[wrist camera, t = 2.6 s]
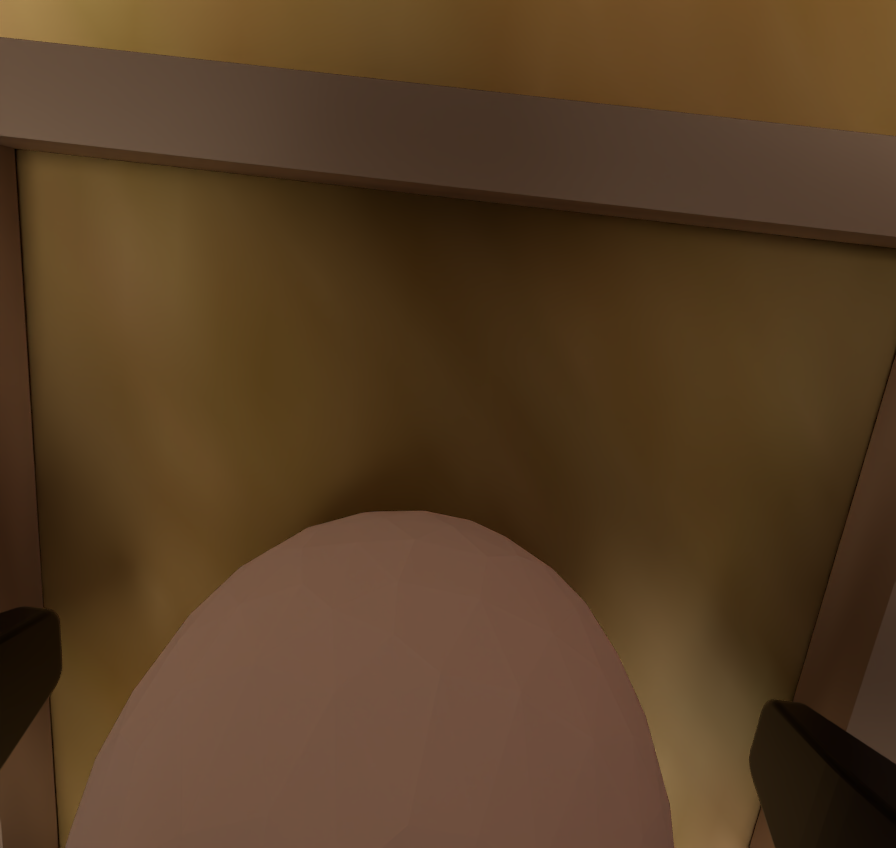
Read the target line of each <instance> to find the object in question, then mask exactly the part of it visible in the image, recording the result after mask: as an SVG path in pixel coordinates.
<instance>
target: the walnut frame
mask: <svg viewBox="0 0 896 848" xmlns="http://www.w3.org/2000/svg"><path fill="white" fill-rule="evenodd" d="M14 148H15V149H24V150H33V151H42V152H50V153H59V154H68V155H77V156H86V157H95V158H103V159H112V160H121V161H130V162H139V163H148V164H156V165H165V166H174V167H183V168H192V169H201V170H209V171H218V172H227V173H236V174H245V175H254V176H262V177H271V178H280V179H289V180H298V181H307V182H315V183H324V184H333V185H342V186H351V187H360V188H368V189H377V190H386V191H395V192H404V193H413V194H421V195H430V196H439V197H448V198H457V199H466V200H474V201H483V202H492V203H501V204H510V205H519V206H527V207H536V208H545V209H554V210H563V211H572V212H580V213H589V214H598V215H607V216H616V217H625V218H633V219H642V220H651V221H660V222H669V223H678V224H686V225H695V226H704V227H713V228H722V229H731V230H739V231H748V232H757V233H766V234H775V235H784V236H792V237H801V238H810V239H819V240H828V241H837V242H845V243H854V244H863V245H872V246H881V247H890V248H896V136H890V135H880V134H871V133H862V132H853V131H844V130H835V129H826V128H817V127H808V126H799V125H790V124H781V123H772V122H763V121H754V120H745V119H736V118H727V117H718V116H709V115H700V114H691V113H682V112H673V111H664V110H655V109H645V108H636V107H627V106H618V105H609V104H600V103H591V102H582V101H573V100H564V99H555V98H546V97H537V96H528V95H519V94H510V93H501V92H492V91H483V90H474V89H465V88H456V87H447V86H438V85H429V84H420V83H411V82H401V81H392V80H383V79H374V78H365V77H356V76H347V75H338V74H329V73H320V72H311V71H302V70H293V69H284V68H275V67H266V66H257V65H248V64H239V63H230V62H221V61H212V60H203V59H194V58H185V57H176V56H166V55H157V54H148V53H139V52H130V51H121V50H112V49H103V48H94V47H85V46H76V45H67V44H58V43H49V42H40V41H31V40H22V39H13V38H4V37H0V613H1V612H4V611H7V610H11V609H14V608H17V607H21V606H28V607H36V608H43V596H42V580H41V564H40V548H39V533H38V517H37V501H36V485H35V469H34V453H33V437H32V421H31V406H30V390H29V374H28V358H27V342H26V326H25V310H24V294H23V278H22V263H21V247H20V231H19V215H18V199H17V183H16V167H15V151H14ZM793 702H800V703H803V704H805V705H807V706H809V707H810V708H812V709H813V710H815V711H816V712H818V713H819V714H821V715H822V716H824V717H825V718H827V719H828V720H830V721H831V722H833V723H834V724H836V725H837V726H839V727H840V728H842V729H843V730H845V731H846V732H848V733H850V734H851V735H853V736H854V737H856V738H857V739H859V740H860V741H862V742H863V743H865V744H866V745H868V746H869V747H871V748H872V749H874V750H875V751H877V752H878V753H880V754H881V755H883V756H884V757H886V758H887V759H889V760H890V761H892V762H894V763H895V764H896V356H895V359H894V363H893V366H892V369H891V373H890V376H889V380H888V383H887V386H886V390H885V393H884V396H883V400H882V403H881V406H880V410H879V413H878V417H877V420H876V423H875V427H874V430H873V433H872V437H871V440H870V443H869V447H868V450H867V454H866V457H865V460H864V464H863V467H862V470H861V474H860V477H859V480H858V484H857V487H856V491H855V494H854V497H853V501H852V504H851V507H850V511H849V514H848V517H847V521H846V524H845V528H844V531H843V534H842V538H841V541H840V544H839V548H838V551H837V555H836V558H835V561H834V565H833V568H832V571H831V575H830V578H829V581H828V585H827V588H826V592H825V595H824V598H823V602H822V605H821V608H820V612H819V615H818V618H817V622H816V625H815V629H814V632H813V635H812V639H811V642H810V645H809V649H808V652H807V655H806V659H805V662H804V666H803V669H802V672H801V676H800V679H799V682H798V686H797V689H796V692H795V696H794V699H793ZM0 848H58V834H57V818H56V803H55V787H54V771H53V755H52V739H51V723H50V707H49V698H48V699H47V701H46V702H45V704H44V705H43V707H42V708H41V710H40V711H39V713H38V714H37V716H36V717H35V719H34V720H33V722H32V723H31V725H30V726H29V728H28V729H27V731H26V732H25V734H24V735H23V737H22V738H21V740H20V741H19V743H18V744H17V746H16V747H15V749H14V750H13V752H12V753H11V755H10V757H9V758H8V760H7V761H6V763H5V764H4V766H3V767H2V769H1V770H0ZM749 848H774V844H773V841H772V838H771V835H770V832H769V829H768V826H767V823H766V819H765V816H764V813H763V810H762V807H761V810H760V814H759V817H758V820H757V824H756V827H755V830H754V834H753V837H752V841H751V844H750V847H749Z"/></svg>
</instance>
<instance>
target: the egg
mask: <svg viewBox="0 0 896 848" xmlns="http://www.w3.org/2000/svg"><path fill="white" fill-rule="evenodd" d="M65 848H674V842H673V832H672V822H671V812H670V804H669V800H668V796H667V793H666V789H665V785H664V782H663V778H662V774H661V771H660V767H659V763H658V760H657V756H656V752H655V749H654V745H653V741H652V738H651V734H650V730H649V727H648V723H647V719H646V716H645V713H644V711H643V709H642V707H641V705H640V702H639V700H638V698H637V696H636V694H635V691H634V689H633V687H632V685H631V682H630V680H629V678H628V676H627V674H626V671H625V669H624V667H623V665H622V662H621V660H620V658H619V656H618V654H617V652H616V651H615V649H614V647H613V646H612V644H611V643H610V641H609V639H608V638H607V636H606V635H605V633H604V631H603V630H602V628H601V627H600V625H599V623H598V622H597V620H596V619H595V617H594V615H593V614H592V612H591V610H590V609H589V607H588V606H587V604H586V603H585V602H584V600H583V599H582V598H581V597H580V596H579V595H578V594H577V593H576V592H575V591H574V590H573V589H572V588H571V587H570V586H569V585H568V584H567V583H566V582H565V581H564V580H563V579H562V578H561V577H560V576H559V575H558V574H557V573H556V572H555V571H554V570H553V569H552V568H551V567H549V566H548V565H546V564H545V563H543V562H542V561H540V560H539V559H538V558H536V557H535V556H533V555H532V554H530V553H529V552H527V551H526V550H524V549H523V548H521V547H520V546H519V545H517V544H516V543H514V542H513V541H511V540H510V539H508V538H507V537H505V536H503V535H501V534H499V533H497V532H495V531H493V530H490V529H488V528H486V527H484V526H482V525H480V524H478V523H476V522H474V521H471V520H467V519H462V518H457V517H452V516H447V515H443V514H438V513H433V512H428V511H375V512H364V513H359V514H356V515H352V516H348V517H345V518H341V519H337V520H334V521H330V522H326V523H323V524H319V525H315V526H312V527H308V528H306V529H304V530H303V531H301V532H299V533H298V534H296V535H294V536H292V537H291V538H289V539H287V540H285V541H284V542H282V543H280V544H279V545H277V546H275V547H273V548H272V549H270V550H268V551H267V552H265V553H263V554H262V555H260V556H258V557H256V558H255V559H253V560H251V561H250V562H248V563H246V564H245V565H243V566H241V567H240V568H239V569H238V570H237V571H235V572H234V573H233V574H232V575H231V576H230V577H229V578H228V579H227V580H226V581H225V582H224V583H223V584H222V585H221V586H220V587H218V588H217V589H216V590H215V591H214V592H213V593H212V594H211V595H210V596H209V597H208V598H207V599H206V600H205V601H204V602H203V603H202V604H200V605H199V606H198V607H197V608H196V609H195V610H194V611H193V612H192V613H191V614H190V615H189V616H188V618H187V619H186V620H185V622H184V623H183V624H182V626H181V627H180V628H179V630H178V631H177V632H176V634H175V635H174V637H173V638H172V639H171V641H170V642H169V643H168V645H167V646H166V647H165V649H164V650H163V651H162V653H161V654H160V655H159V657H158V658H157V659H156V661H155V662H154V664H153V665H152V666H151V668H150V669H149V670H148V672H147V673H146V674H145V676H144V677H143V678H142V680H141V681H140V682H139V684H138V685H137V686H136V688H135V689H134V690H133V692H132V694H131V696H130V697H129V699H128V701H127V703H126V705H125V706H124V708H123V710H122V712H121V714H120V715H119V717H118V719H117V721H116V723H115V724H114V726H113V728H112V730H111V732H110V733H109V735H108V737H107V739H106V741H105V742H104V744H103V746H102V748H101V750H100V751H99V753H98V755H97V757H96V759H95V762H94V765H93V767H92V770H91V773H90V776H89V779H88V782H87V785H86V787H85V790H84V793H83V796H82V799H81V802H80V804H79V807H78V810H77V813H76V816H75V819H74V822H73V824H72V827H71V830H70V833H69V836H68V839H67V843H66V847H65Z"/></svg>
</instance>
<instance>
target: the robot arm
mask: <svg viewBox="0 0 896 848" xmlns="http://www.w3.org/2000/svg"><path fill="white" fill-rule="evenodd" d="M61 671H62V649H61V631H60V619H59V616H58V614H57V613H56V612H55V611H53V610H51V609H44V608H36V607H28V606H21V607H17V608H14V609H11V610H7V611H4V612H1V613H0V770H1V769H2V767H3V766H4V764H5V763H6V761H7V760H8V758H9V757H10V755H11V753H12V752H13V750H14V749H15V747H16V746H17V744H18V743H19V741H20V740H21V738H22V737H23V735H24V734H25V732H26V731H27V729H28V728H29V726H30V725H31V723H32V722H33V720H34V719H35V717H36V716H37V714H38V713H39V711H40V710H41V708H42V707H43V705H44V704H45V702H46V701H47V699H48V698H49V696H50V695H51V693H52V692H53V690H54V689H55V687H56V685H57V683H58V681H59V678H60V675H61ZM749 763H750V771H751V775H752V779H753V782H754V785H755V788H756V791H757V794H758V798H759V801H760V804H761V807H762V810H763V813H764V816H765V819H766V823H767V826H768V829H769V832H770V835H771V838H772V841H773V844H774V848H896V764H895V763H894V762H892V761H890V760H889V759H887V758H886V757H884V756H883V755H881V754H880V753H878V752H877V751H875V750H874V749H872V748H871V747H869V746H868V745H866V744H865V743H863V742H862V741H860V740H859V739H857V738H856V737H854V736H853V735H851V734H850V733H848V732H846V731H845V730H843V729H842V728H840V727H839V726H837V725H836V724H834V723H833V722H831V721H830V720H828V719H827V718H825V717H824V716H822V715H821V714H819V713H818V712H816V711H815V710H813V709H812V708H810V707H809V706H807V705H805V704H803V703H800V702H792V701H784V700H776V699H772V700H769V701H767V702H766V703H765V705H764V706H763V709H762V711H761V715H760V718H759V722H758V725H757V729H756V733H755V736H754V740H753V743H752V747H751V750H750V757H749Z"/></svg>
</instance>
